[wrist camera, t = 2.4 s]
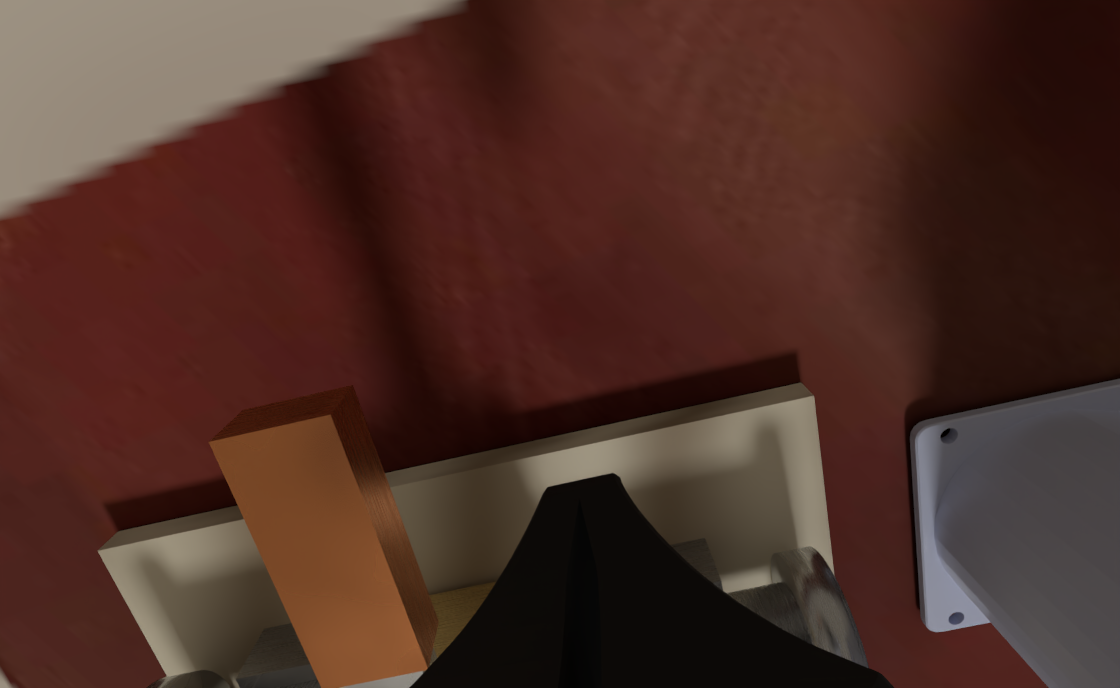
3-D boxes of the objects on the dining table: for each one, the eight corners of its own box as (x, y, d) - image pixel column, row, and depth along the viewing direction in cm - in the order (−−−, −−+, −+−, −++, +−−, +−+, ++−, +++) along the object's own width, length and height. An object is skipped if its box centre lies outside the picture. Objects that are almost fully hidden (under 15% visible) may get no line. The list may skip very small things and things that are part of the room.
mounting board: (801, 382, 19) (813, 395, 18) (836, 682, 23) (849, 706, 22) (118, 531, 21) (97, 551, 20) (258, 793, 24) (247, 819, 23)
